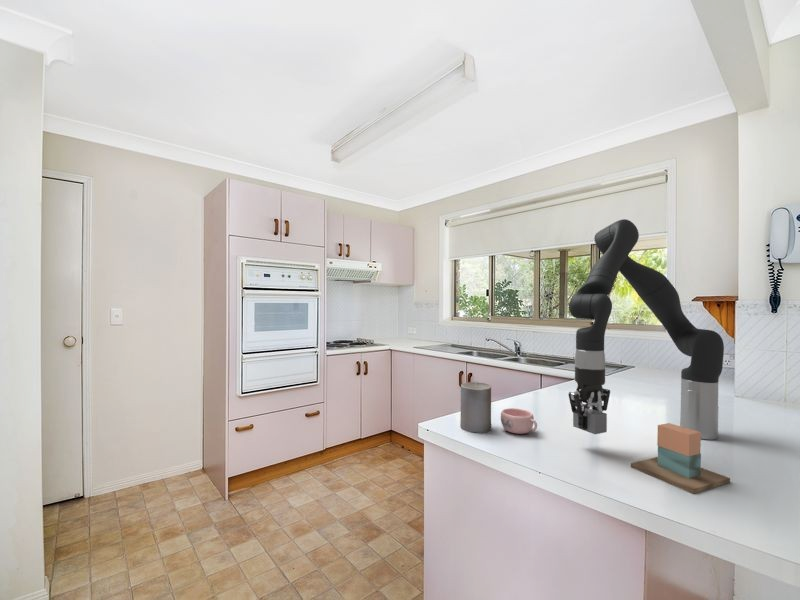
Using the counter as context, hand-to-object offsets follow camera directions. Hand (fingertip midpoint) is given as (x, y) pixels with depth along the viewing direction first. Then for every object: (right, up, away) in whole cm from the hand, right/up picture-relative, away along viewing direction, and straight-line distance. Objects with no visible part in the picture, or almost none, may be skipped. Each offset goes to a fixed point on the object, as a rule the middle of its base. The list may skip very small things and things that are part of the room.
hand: (589, 427), depth 104 cm
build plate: (+14, -7, -14) cm, 21 cm away
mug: (-15, -6, +14) cm, 21 cm away
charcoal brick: (0, -1, 0) cm, 1 cm away
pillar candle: (-28, -6, +17) cm, 33 cm away
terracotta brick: (+14, -1, -14) cm, 20 cm away
